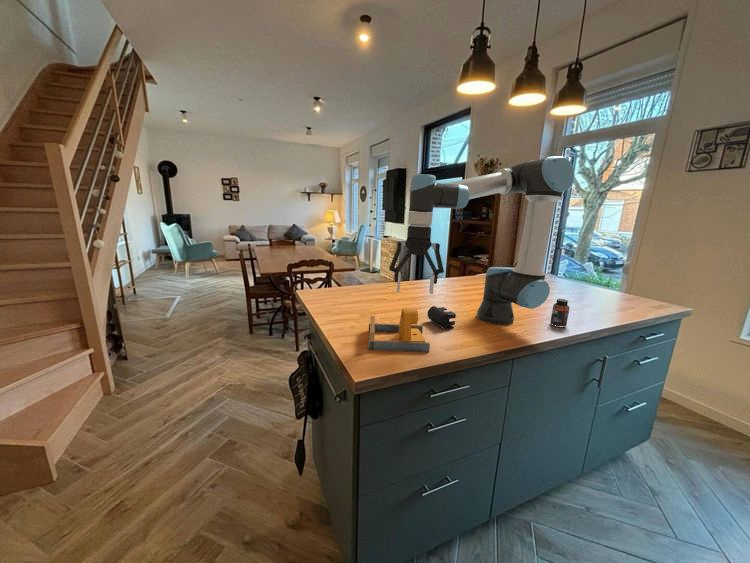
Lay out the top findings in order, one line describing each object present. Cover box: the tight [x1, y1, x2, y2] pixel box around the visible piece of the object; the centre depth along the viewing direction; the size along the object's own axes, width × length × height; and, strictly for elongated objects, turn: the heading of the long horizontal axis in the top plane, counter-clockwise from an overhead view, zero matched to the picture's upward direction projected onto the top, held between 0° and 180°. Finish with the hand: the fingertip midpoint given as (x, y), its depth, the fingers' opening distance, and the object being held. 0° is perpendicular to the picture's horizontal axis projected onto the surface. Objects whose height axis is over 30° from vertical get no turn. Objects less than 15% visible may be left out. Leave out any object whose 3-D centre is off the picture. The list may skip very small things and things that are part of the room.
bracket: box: [397, 308, 426, 342], centre depth 104 cm, size 11×7×12 cm, turn 6°
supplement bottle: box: [549, 298, 570, 327], centre depth 126 cm, size 6×6×11 cm
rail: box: [367, 315, 431, 353], centre depth 105 cm, size 20×16×6 cm
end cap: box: [426, 305, 457, 330], centre depth 122 cm, size 10×7×7 cm
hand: (414, 292), depth 102 cm, fingers open, 10 cm apart
